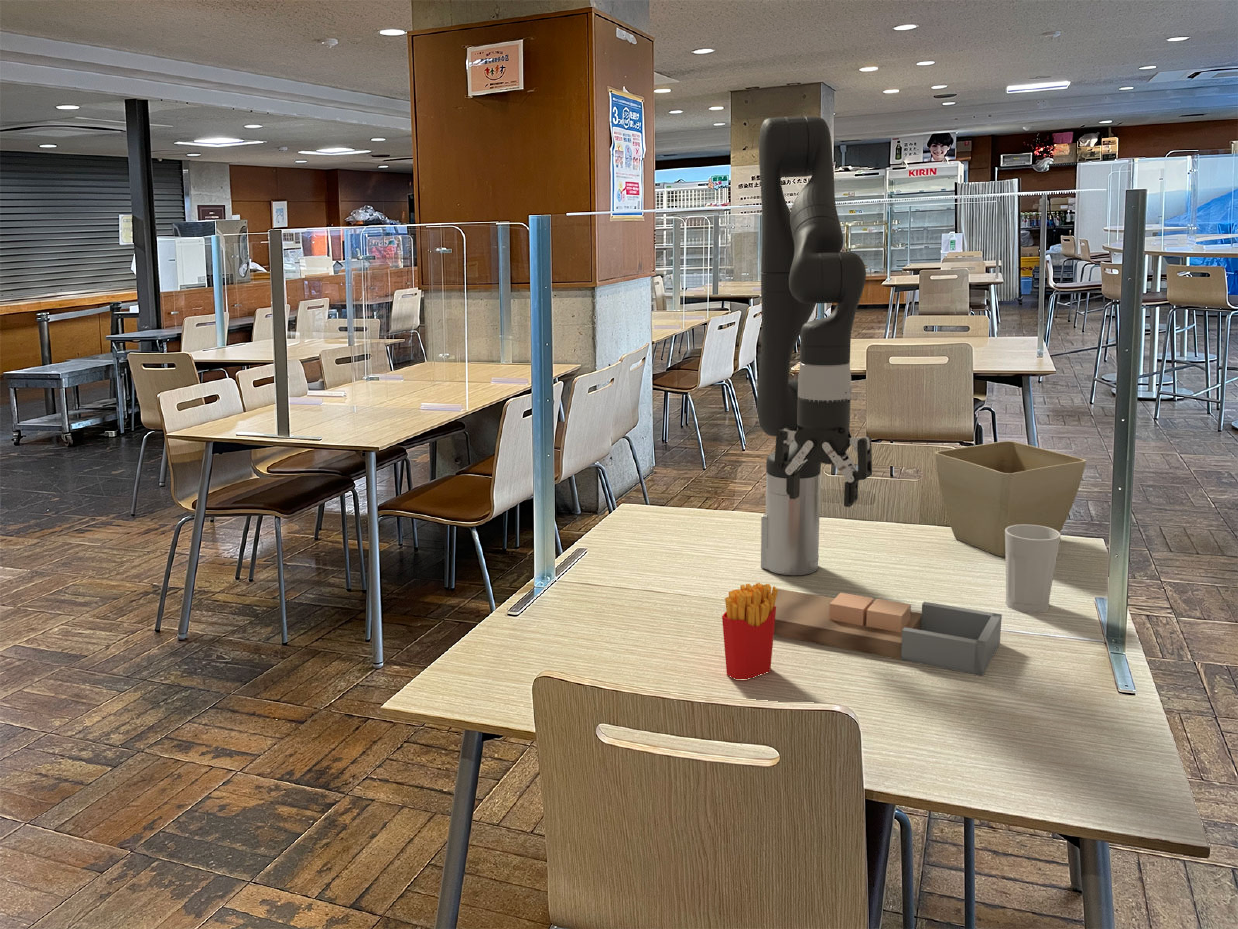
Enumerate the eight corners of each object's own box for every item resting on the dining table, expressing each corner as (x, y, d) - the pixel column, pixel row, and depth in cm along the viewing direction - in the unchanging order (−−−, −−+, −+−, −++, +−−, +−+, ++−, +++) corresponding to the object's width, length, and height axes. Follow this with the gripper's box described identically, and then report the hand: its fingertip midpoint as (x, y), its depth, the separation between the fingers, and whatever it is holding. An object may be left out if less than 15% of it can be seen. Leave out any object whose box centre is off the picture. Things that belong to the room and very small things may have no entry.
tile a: (829, 619, 149) (829, 603, 149) (840, 608, 153) (840, 592, 153) (862, 625, 147) (863, 609, 146) (872, 614, 151) (873, 598, 150)
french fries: (736, 685, 135) (736, 600, 132) (716, 674, 138) (716, 591, 135) (782, 668, 139) (784, 585, 137) (763, 658, 143) (764, 577, 140)
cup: (1059, 616, 155) (1065, 541, 152) (1004, 613, 157) (1009, 538, 154) (1048, 597, 163) (1054, 525, 160) (996, 594, 164) (1001, 523, 161)
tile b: (866, 626, 146) (866, 610, 146) (876, 614, 151) (876, 598, 150) (900, 632, 144) (901, 616, 143) (910, 620, 148) (910, 604, 148)
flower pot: (1000, 566, 177) (1007, 472, 173) (927, 536, 194) (931, 450, 190) (1081, 550, 184) (1089, 460, 180) (1003, 523, 201) (1009, 440, 197)
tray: (900, 659, 141) (902, 630, 140) (922, 629, 151) (924, 601, 150) (982, 675, 136) (985, 645, 135) (999, 643, 146) (1001, 614, 145)
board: (747, 629, 152) (747, 614, 152) (776, 603, 163) (777, 588, 162) (900, 659, 141) (901, 643, 141) (922, 629, 151) (923, 613, 151)
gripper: (767, 394, 147) (766, 501, 151) (862, 401, 140) (858, 514, 144) (788, 386, 153) (787, 490, 157) (881, 393, 146) (876, 502, 150)
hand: (821, 501), depth 150 cm, fingers open, 8 cm apart
